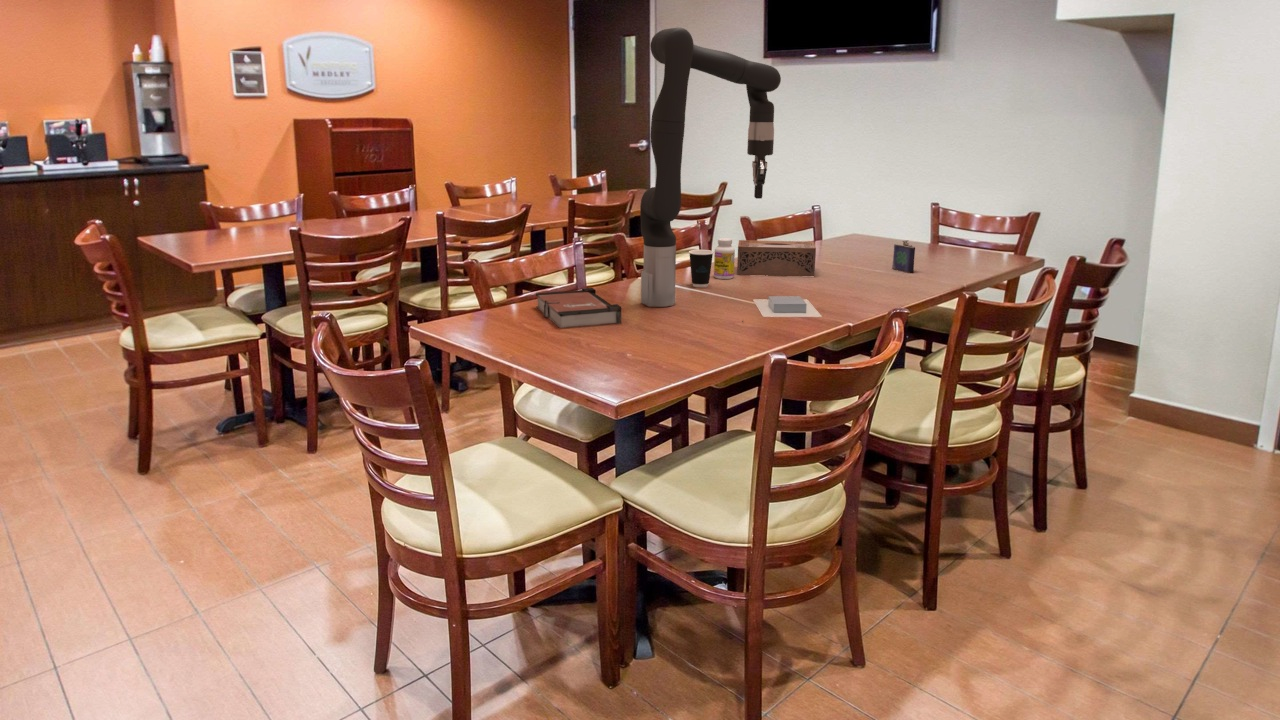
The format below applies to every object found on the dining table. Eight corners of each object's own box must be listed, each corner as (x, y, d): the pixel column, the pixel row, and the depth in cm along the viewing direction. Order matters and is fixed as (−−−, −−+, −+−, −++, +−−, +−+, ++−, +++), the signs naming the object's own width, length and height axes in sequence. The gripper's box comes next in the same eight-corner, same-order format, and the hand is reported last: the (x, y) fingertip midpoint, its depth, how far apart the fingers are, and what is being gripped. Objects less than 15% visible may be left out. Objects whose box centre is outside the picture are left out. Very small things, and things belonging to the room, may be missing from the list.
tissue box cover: (737, 275, 302) (738, 246, 299) (738, 268, 316) (739, 240, 313) (814, 277, 299) (816, 248, 296) (812, 270, 312) (813, 241, 310)
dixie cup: (701, 282, 289) (701, 248, 286) (718, 286, 284) (719, 251, 280) (682, 285, 285) (683, 251, 282) (699, 289, 279) (700, 254, 276)
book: (533, 309, 254) (533, 291, 253) (592, 304, 260) (592, 287, 259) (557, 330, 231) (556, 311, 229) (621, 325, 236) (621, 306, 235)
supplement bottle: (710, 278, 296) (711, 239, 292) (718, 275, 302) (719, 237, 298) (729, 280, 293) (730, 241, 289) (736, 276, 299) (738, 238, 295)
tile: (768, 296, 255) (773, 303, 245) (800, 296, 255) (806, 303, 245) (768, 304, 255) (773, 312, 246) (799, 304, 255) (806, 312, 246)
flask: (890, 269, 313) (893, 238, 310) (896, 268, 314) (899, 238, 311) (909, 273, 305) (912, 242, 302) (915, 272, 307) (918, 241, 304)
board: (752, 301, 262) (752, 299, 262) (806, 301, 263) (807, 299, 262) (763, 318, 241) (763, 316, 241) (822, 318, 241) (822, 316, 241)
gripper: (745, 137, 267) (742, 195, 272) (750, 139, 254) (748, 200, 259) (770, 137, 267) (767, 196, 272) (777, 139, 254) (774, 200, 259)
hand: (758, 198), depth 265 cm, fingers closed
